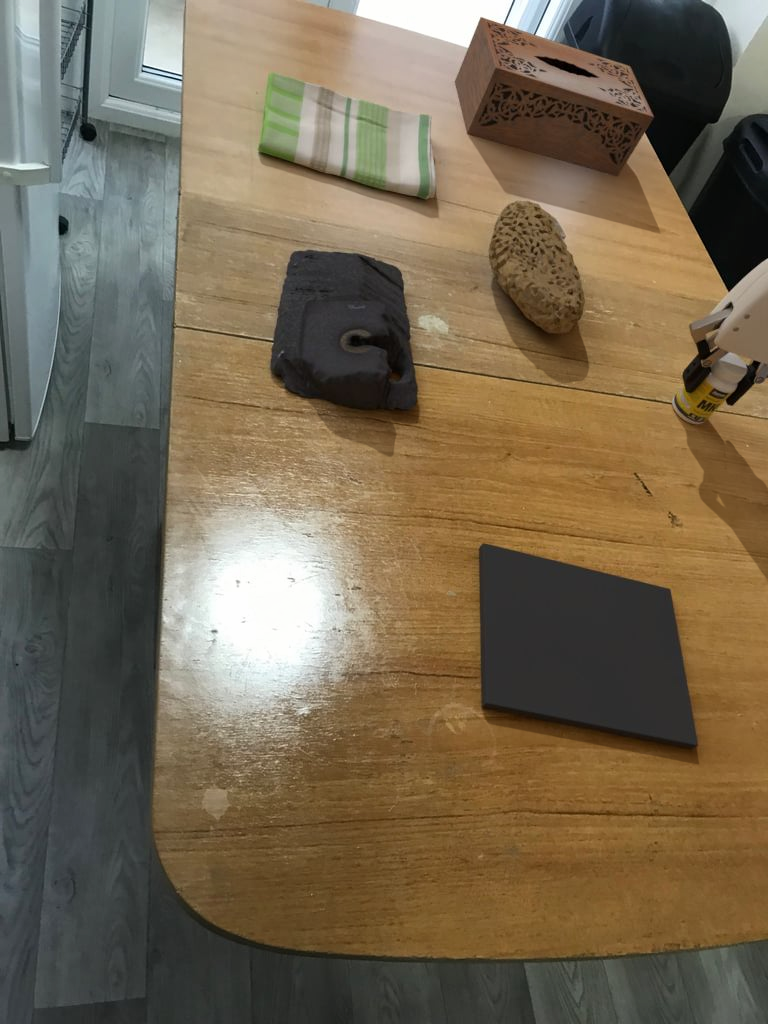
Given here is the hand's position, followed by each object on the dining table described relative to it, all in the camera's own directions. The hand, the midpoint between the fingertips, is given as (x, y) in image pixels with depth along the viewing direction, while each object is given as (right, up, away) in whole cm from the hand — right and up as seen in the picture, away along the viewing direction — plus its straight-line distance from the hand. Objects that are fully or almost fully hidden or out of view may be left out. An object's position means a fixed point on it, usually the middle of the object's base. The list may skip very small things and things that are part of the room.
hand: (707, 389), depth 99 cm
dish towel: (-43, +34, +12) cm, 56 cm away
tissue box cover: (-14, +45, +33) cm, 58 cm away
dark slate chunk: (-42, +5, -9) cm, 43 cm away
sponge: (-20, +14, +7) cm, 26 cm away
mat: (-20, -27, -23) cm, 40 cm away
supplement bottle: (-1, -2, +3) cm, 4 cm away
